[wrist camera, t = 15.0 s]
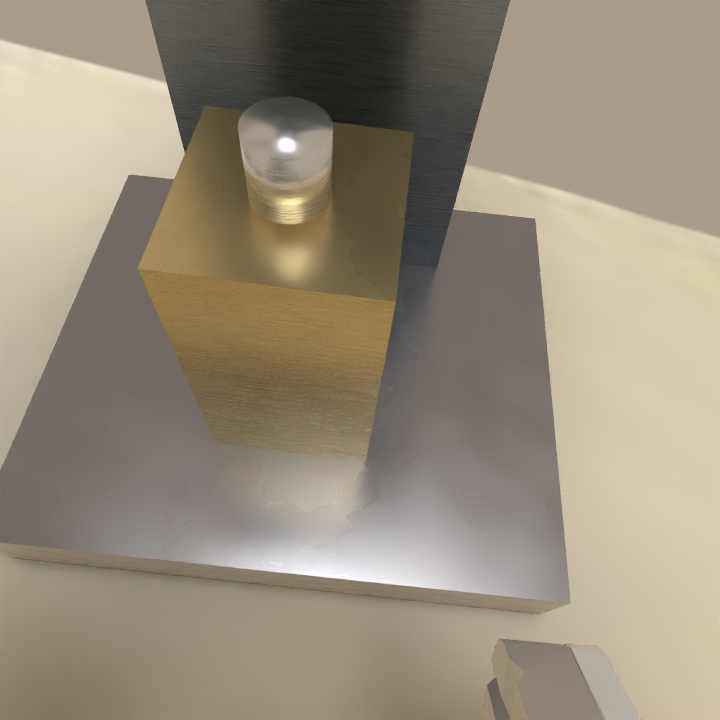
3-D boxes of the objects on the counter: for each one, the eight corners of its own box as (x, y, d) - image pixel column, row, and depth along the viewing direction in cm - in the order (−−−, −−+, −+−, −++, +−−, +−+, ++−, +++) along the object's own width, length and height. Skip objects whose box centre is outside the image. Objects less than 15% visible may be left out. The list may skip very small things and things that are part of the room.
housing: (214, 442, 17) (109, 203, 8) (248, 318, 19) (190, 34, 11) (365, 462, 17) (407, 242, 8) (380, 335, 19) (425, 65, 11)
